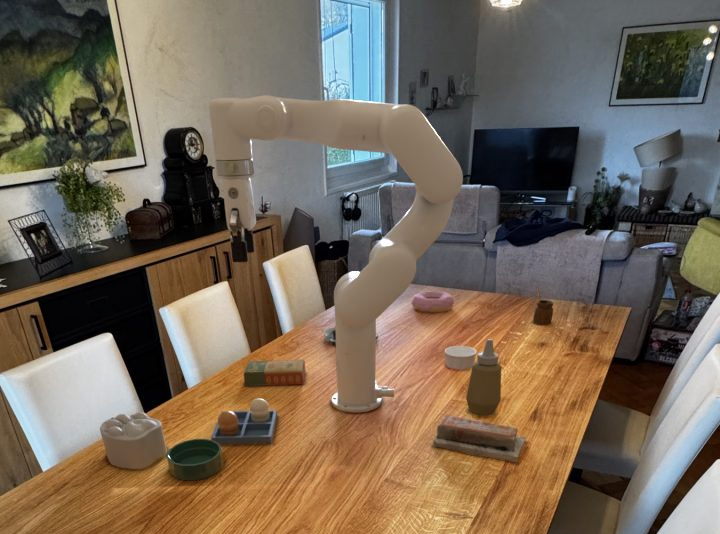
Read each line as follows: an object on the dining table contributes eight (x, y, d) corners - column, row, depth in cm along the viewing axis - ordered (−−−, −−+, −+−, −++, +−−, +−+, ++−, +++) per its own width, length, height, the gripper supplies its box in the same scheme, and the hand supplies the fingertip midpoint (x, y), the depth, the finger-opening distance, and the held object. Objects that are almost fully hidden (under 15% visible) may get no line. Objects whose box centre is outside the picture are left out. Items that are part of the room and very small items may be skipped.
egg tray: (277, 417, 138) (276, 410, 137) (271, 444, 127) (270, 436, 126) (222, 418, 139) (221, 411, 138) (212, 445, 127) (210, 438, 126)
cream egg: (271, 418, 137) (268, 394, 134) (269, 427, 133) (266, 402, 130) (253, 419, 137) (250, 395, 134) (250, 427, 133) (247, 403, 130)
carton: (303, 385, 154) (302, 370, 152) (244, 386, 155) (242, 371, 153) (305, 373, 162) (304, 358, 159) (249, 374, 162) (247, 360, 160)
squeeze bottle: (502, 407, 139) (511, 335, 130) (495, 421, 133) (504, 347, 124) (469, 402, 142) (476, 332, 133) (460, 415, 136) (467, 343, 127)
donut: (410, 314, 206) (410, 300, 203) (412, 302, 219) (412, 289, 216) (454, 315, 203) (455, 301, 201) (453, 303, 216) (454, 289, 214)
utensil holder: (553, 325, 191) (559, 288, 184) (534, 325, 191) (540, 289, 184) (548, 319, 196) (554, 284, 189) (529, 320, 196) (534, 284, 190)
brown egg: (241, 431, 132) (238, 407, 129) (238, 440, 128) (235, 416, 125) (222, 432, 132) (218, 407, 129) (218, 441, 128) (214, 416, 125)
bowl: (227, 454, 124) (225, 438, 122) (218, 481, 114) (215, 464, 112) (177, 455, 124) (174, 439, 122) (164, 483, 115) (160, 466, 113)
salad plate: (315, 330, 193) (314, 317, 191) (366, 325, 196) (366, 312, 194) (327, 350, 177) (326, 335, 175) (382, 344, 180) (382, 329, 178)
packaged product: (433, 427, 121) (446, 408, 129) (431, 447, 124) (445, 427, 131) (519, 443, 114) (528, 422, 122) (516, 464, 117) (525, 442, 124)
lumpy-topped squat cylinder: (139, 473, 118) (130, 436, 114) (95, 459, 124) (84, 424, 119) (173, 450, 126) (166, 415, 121) (130, 438, 131) (121, 404, 127)
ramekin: (440, 369, 161) (441, 354, 159) (447, 358, 168) (448, 343, 166) (472, 372, 158) (473, 357, 156) (477, 361, 165) (479, 347, 163)
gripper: (247, 172, 109) (255, 265, 118) (259, 165, 124) (265, 248, 133) (207, 173, 109) (219, 266, 118) (224, 166, 124) (233, 249, 133)
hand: (244, 256), depth 125 cm, fingers open, 9 cm apart
